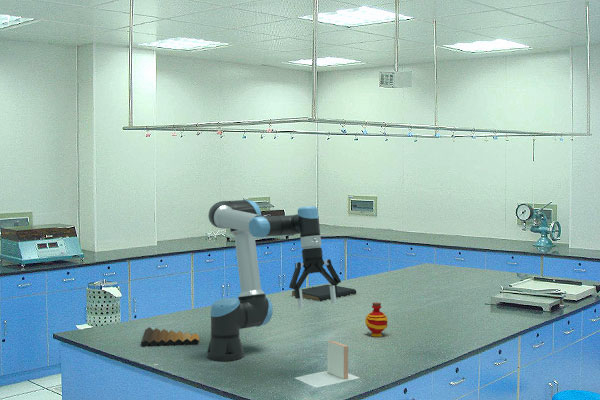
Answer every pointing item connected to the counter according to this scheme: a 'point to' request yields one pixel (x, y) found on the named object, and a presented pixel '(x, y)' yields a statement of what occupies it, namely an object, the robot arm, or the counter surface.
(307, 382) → the white rectangular board
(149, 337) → the pan flute
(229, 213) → the robot arm
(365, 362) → the counter surface
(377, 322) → the potion bottle
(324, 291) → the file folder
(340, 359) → the terracotta tile
